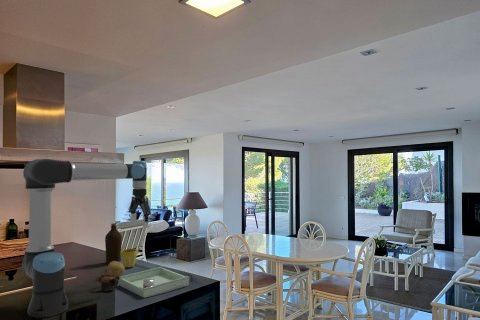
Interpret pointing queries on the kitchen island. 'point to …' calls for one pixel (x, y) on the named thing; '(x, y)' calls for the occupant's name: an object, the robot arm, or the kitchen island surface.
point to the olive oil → (113, 244)
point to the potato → (115, 269)
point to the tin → (148, 283)
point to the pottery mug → (108, 282)
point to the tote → (162, 282)
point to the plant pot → (129, 257)
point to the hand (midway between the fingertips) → (139, 226)
